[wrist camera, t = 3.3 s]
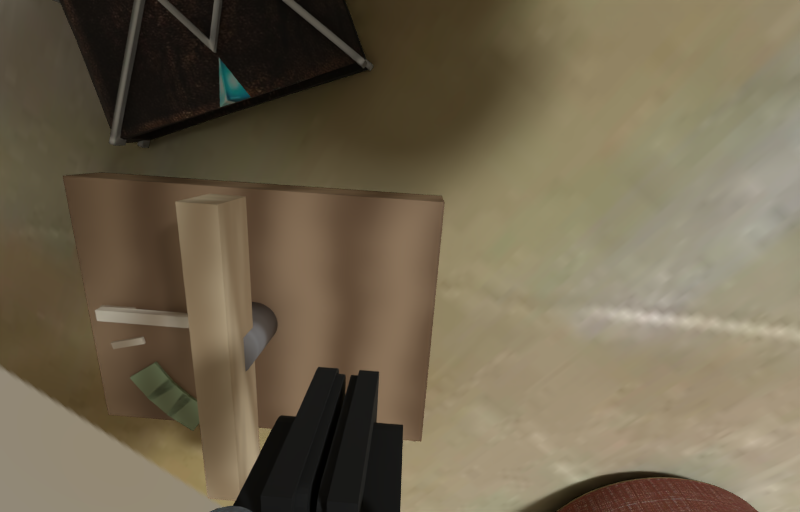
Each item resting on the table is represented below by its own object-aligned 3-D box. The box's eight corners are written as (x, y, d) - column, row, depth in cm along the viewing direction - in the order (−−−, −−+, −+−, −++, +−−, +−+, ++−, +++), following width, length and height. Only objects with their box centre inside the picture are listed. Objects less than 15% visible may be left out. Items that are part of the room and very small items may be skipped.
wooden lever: (273, 191, 23) (228, 205, 17) (281, 432, 28) (248, 501, 23) (81, 177, 23) (-22, 188, 18) (124, 419, 28) (54, 484, 23)
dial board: (441, 195, 26) (444, 202, 23) (419, 432, 31) (419, 462, 28) (101, 172, 26) (59, 175, 23) (139, 408, 32) (110, 435, 29)
